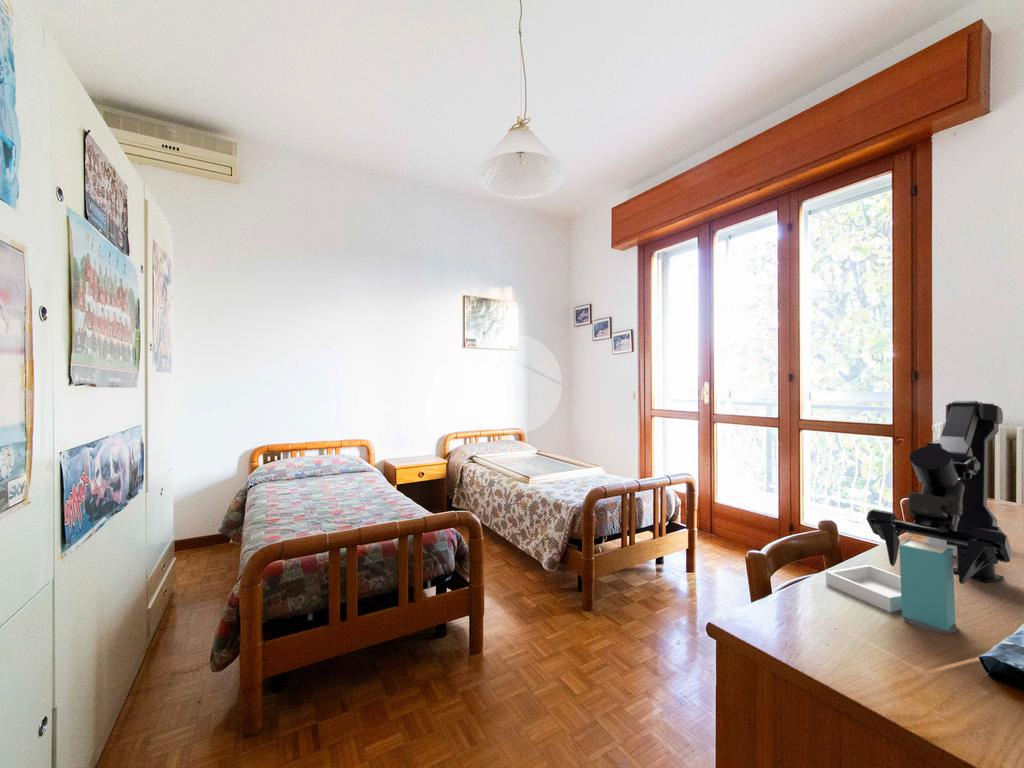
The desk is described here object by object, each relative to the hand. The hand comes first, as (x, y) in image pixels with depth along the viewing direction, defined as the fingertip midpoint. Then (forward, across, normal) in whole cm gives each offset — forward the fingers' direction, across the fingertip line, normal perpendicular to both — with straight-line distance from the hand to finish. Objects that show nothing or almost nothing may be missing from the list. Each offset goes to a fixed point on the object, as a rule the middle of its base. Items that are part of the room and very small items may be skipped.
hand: (924, 573), depth 77 cm
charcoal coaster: (+6, 0, +8) cm, 10 cm away
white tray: (+1, -9, +13) cm, 16 cm away
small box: (-30, -8, +44) cm, 53 cm away
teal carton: (+5, 0, +7) cm, 9 cm away
